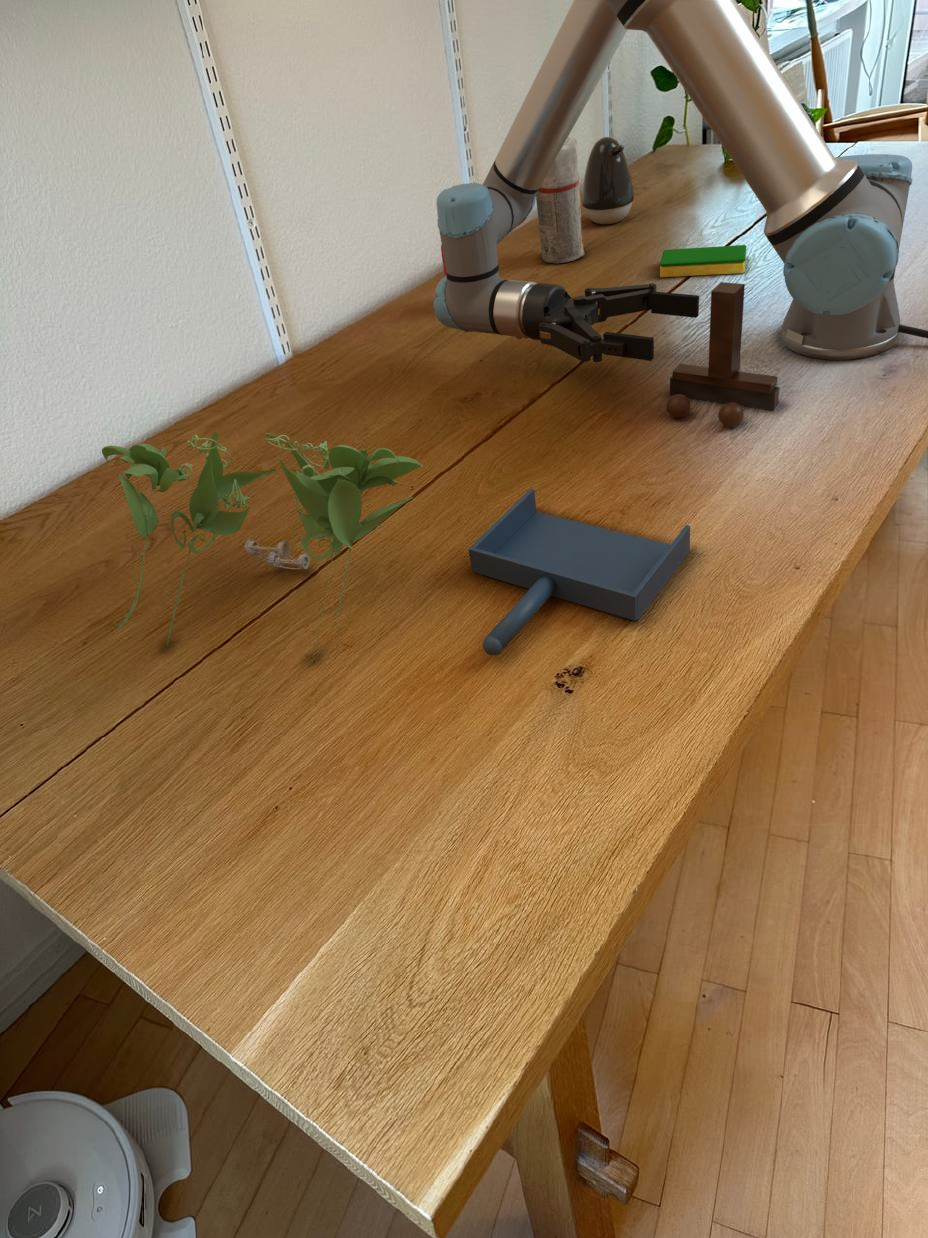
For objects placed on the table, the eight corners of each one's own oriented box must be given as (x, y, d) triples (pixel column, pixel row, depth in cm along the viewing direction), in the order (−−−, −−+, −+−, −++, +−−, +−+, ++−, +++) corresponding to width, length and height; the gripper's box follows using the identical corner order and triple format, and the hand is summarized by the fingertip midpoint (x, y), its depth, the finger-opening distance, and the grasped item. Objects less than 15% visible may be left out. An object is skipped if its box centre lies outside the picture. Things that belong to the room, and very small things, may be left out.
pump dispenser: (602, 232, 171) (599, 147, 162) (573, 222, 179) (568, 140, 169) (645, 218, 174) (644, 133, 164) (614, 209, 182) (612, 127, 172)
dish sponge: (744, 273, 145) (745, 258, 143) (659, 277, 149) (659, 263, 147) (745, 258, 150) (746, 243, 148) (663, 263, 154) (663, 248, 152)
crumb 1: (691, 411, 112) (691, 389, 110) (689, 422, 110) (689, 400, 108) (667, 411, 113) (667, 390, 111) (665, 422, 111) (665, 401, 109)
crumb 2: (743, 419, 109) (744, 397, 107) (742, 431, 107) (744, 409, 105) (718, 419, 110) (719, 398, 108) (717, 431, 107) (718, 409, 106)
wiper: (780, 402, 111) (791, 287, 101) (771, 413, 109) (782, 297, 100) (676, 387, 118) (678, 278, 108) (667, 397, 116) (668, 287, 107)
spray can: (582, 263, 160) (575, 142, 147) (538, 266, 162) (527, 148, 149) (587, 247, 166) (580, 130, 153) (544, 250, 168) (534, 135, 155)
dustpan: (533, 512, 100) (530, 488, 98) (689, 551, 90) (690, 525, 88) (410, 636, 86) (404, 611, 84) (579, 697, 76) (577, 671, 74)
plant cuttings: (427, 681, 91) (454, 479, 95) (365, 652, 75) (400, 411, 79) (144, 655, 101) (179, 474, 105) (36, 625, 85) (82, 413, 89)
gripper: (578, 303, 131) (713, 317, 120) (488, 374, 117) (632, 397, 106) (575, 252, 127) (715, 262, 116) (481, 320, 112) (630, 338, 101)
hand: (676, 327), depth 111 cm, fingers open, 13 cm apart
